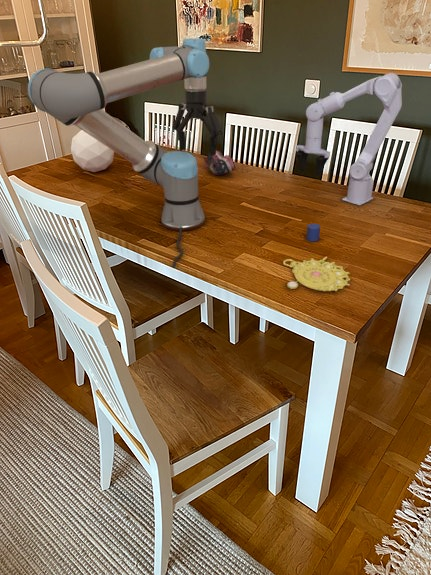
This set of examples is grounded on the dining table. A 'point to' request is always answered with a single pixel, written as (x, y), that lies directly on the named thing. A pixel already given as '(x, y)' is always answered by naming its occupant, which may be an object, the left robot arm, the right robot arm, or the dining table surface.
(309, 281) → the decorative object
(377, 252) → the dining table surface
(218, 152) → the athletic shoe
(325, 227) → the dining table surface
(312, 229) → the canister
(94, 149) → the sphere
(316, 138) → the right robot arm
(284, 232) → the dining table surface
